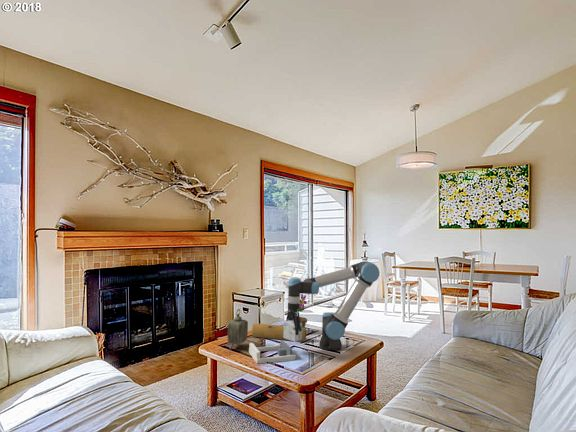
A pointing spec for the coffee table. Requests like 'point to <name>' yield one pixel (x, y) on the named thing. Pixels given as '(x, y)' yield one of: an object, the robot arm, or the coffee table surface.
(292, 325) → the light bulb box
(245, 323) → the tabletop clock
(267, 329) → the log
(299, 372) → the coffee table surface
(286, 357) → the open rectangular frame
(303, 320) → the flowerpot
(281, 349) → the pusher
